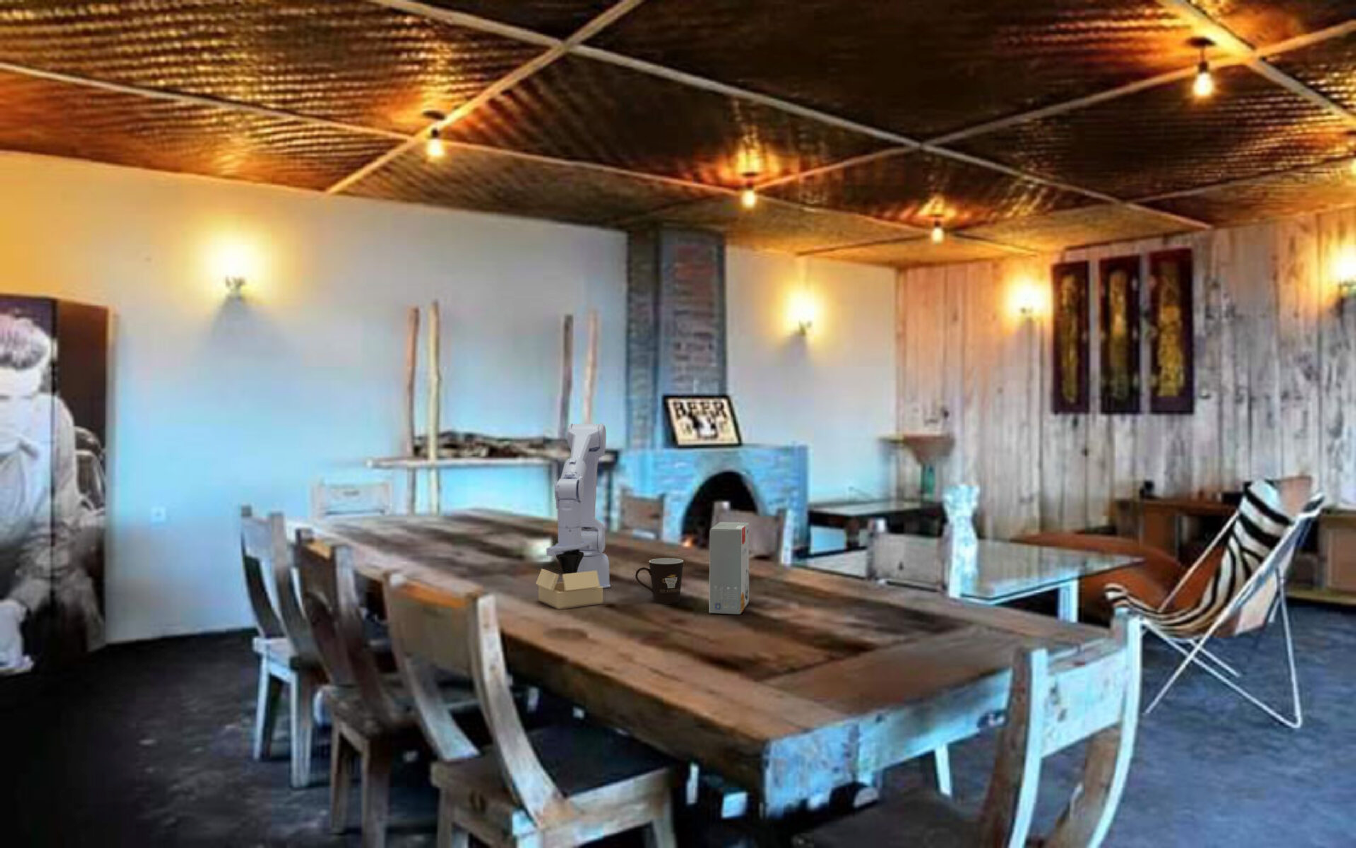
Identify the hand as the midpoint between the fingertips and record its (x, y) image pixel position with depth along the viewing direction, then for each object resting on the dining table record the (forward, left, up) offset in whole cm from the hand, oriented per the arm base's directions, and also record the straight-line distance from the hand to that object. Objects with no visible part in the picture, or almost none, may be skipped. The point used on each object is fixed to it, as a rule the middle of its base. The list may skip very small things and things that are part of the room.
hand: (570, 581), depth 234 cm
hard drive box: (-30, +27, -6) cm, 40 cm away
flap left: (0, +6, +1) cm, 6 cm away
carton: (0, 0, -5) cm, 5 cm away
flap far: (+6, 0, +1) cm, 6 cm away
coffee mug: (-20, +11, -5) cm, 23 cm away
